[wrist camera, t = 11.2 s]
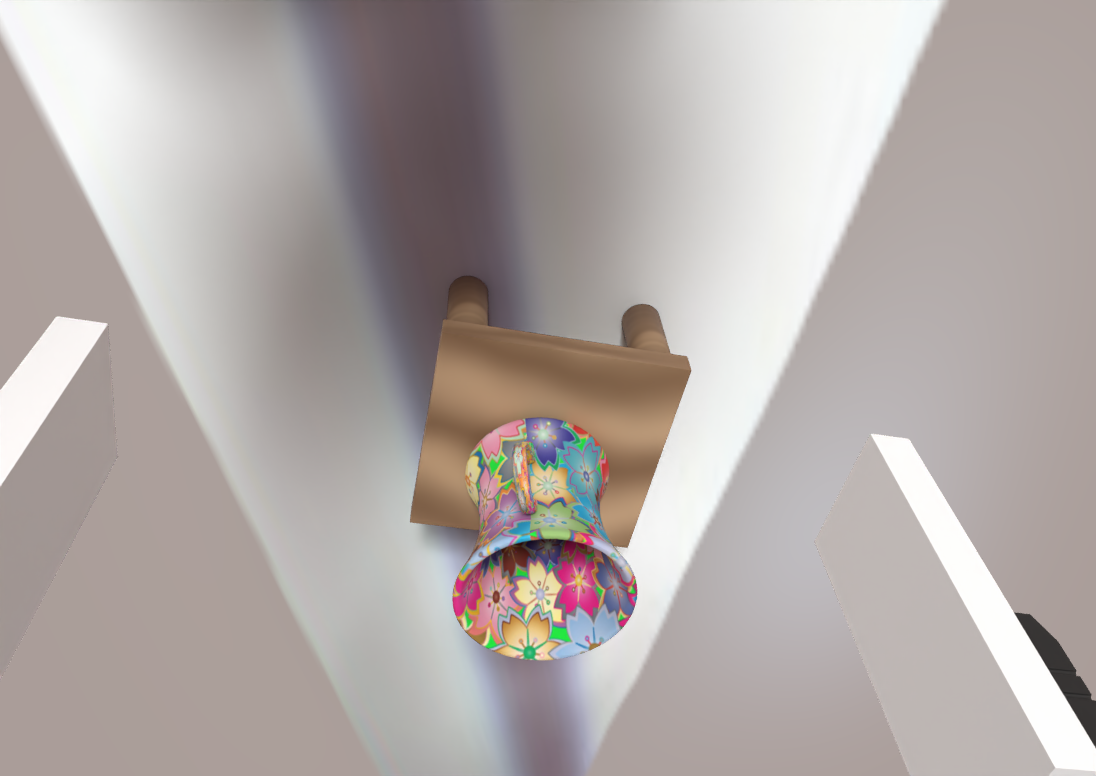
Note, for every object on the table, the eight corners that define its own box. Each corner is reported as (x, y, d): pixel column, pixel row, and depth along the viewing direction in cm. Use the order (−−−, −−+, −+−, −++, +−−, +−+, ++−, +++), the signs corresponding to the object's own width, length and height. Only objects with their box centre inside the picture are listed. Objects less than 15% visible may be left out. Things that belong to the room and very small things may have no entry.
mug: (622, 510, 57) (645, 647, 48) (475, 532, 57) (473, 672, 49) (598, 351, 50) (621, 478, 41) (432, 377, 50) (420, 509, 42)
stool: (447, 267, 55) (442, 332, 49) (670, 304, 57) (691, 370, 51) (417, 447, 63) (409, 522, 57) (614, 472, 65) (627, 547, 59)
